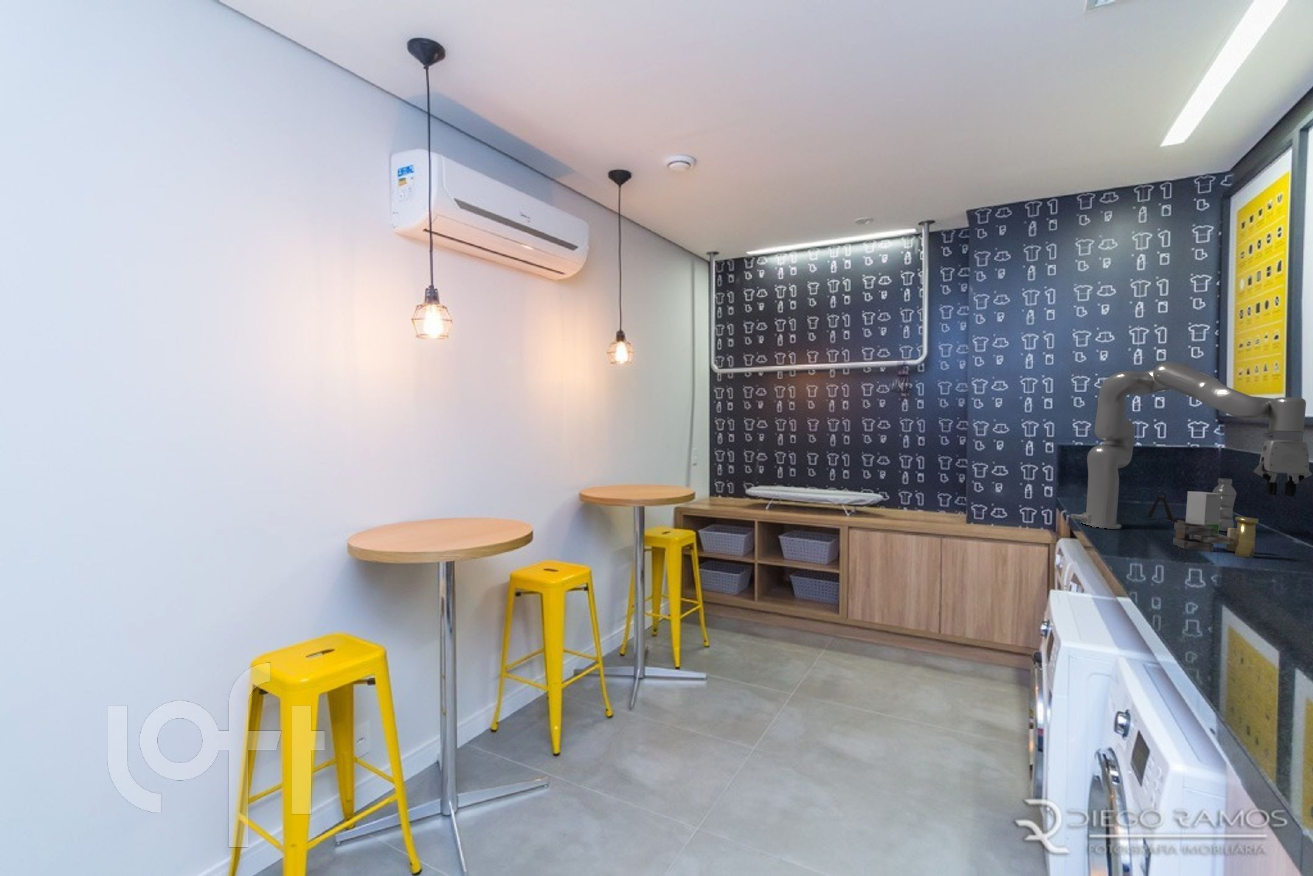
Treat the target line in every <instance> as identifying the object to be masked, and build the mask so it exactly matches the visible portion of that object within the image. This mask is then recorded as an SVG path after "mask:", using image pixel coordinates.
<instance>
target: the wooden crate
mask: <svg viewBox="0 0 1313 876" xmlns="http://www.w3.org/2000/svg"><path fill="white" fill-rule="evenodd" d="M1226 532H1227V533H1226V535H1224V534H1221V533H1219V534H1214V536H1202V535H1191V537H1192V538H1191V539H1196V540H1199V541H1201V542H1205V543H1212V544H1219V545H1226V547H1225V551H1226V550H1227V552H1229V551H1230V552H1235V547H1236V535H1237V527H1236V528H1235V527H1233V528H1228V531H1226ZM1256 534H1257V531H1256V530H1255V538H1254V550H1253V554H1255V548H1256V537H1257V536H1256Z"/></svg>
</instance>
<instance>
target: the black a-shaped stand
mask: <svg viewBox="0 0 1313 876" xmlns="http://www.w3.org/2000/svg"><path fill="white" fill-rule="evenodd" d="M1161 492H1162V494H1164V496H1160V495H1159V494H1160V493H1161ZM1167 494H1168V493H1167V492H1166V491H1165V490H1163V491H1162V490H1158V491H1157V493H1156V498H1155V501H1154V503H1153V504H1152V505H1151V507H1150V509H1149V511H1148V513H1147V515H1146V517H1149V518H1152V517H1154V516H1153V515H1154V513H1155V510H1156V508H1157V506H1158V504H1159V502H1160V501H1163V505H1164V509H1165V514H1166V517H1167V518H1165V517H1160V518H1161V519H1162V518H1163V519H1167V520H1171V521H1174V522H1175V517H1174V515H1173V512H1172V510H1171V508H1170V504H1169V502H1168V500H1167ZM1146 517H1145V518H1146Z"/></svg>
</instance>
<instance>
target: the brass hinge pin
mask: <svg viewBox="0 0 1313 876" xmlns="http://www.w3.org/2000/svg"><path fill="white" fill-rule="evenodd" d="M1235 521H1236V523H1237V524H1236V528H1237V535H1236V547H1235V551H1234V556H1236V557H1238V556H1241V557H1240V558H1244V557H1253V558H1254V553H1253V550H1254V551H1255V549H1254V538H1255V539H1256V537H1255V531H1256V524H1258V523H1259V518H1253V517H1247V516H1236V517H1235Z"/></svg>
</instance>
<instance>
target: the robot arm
mask: <svg viewBox="0 0 1313 876" xmlns="http://www.w3.org/2000/svg"><path fill="white" fill-rule="evenodd" d="M1166 390H1174V391H1176V392H1179V393H1180V394H1183V395H1185V396H1187V397H1191V398H1192V399H1195V400H1197V401H1199V402H1200V403H1203V404H1205V405H1207V406H1210V407H1211V408H1213V409H1215V410H1218V411H1219V412H1222V413H1225V414H1227V415H1230V416H1232V417H1235V418H1237V419H1241V420H1245V421H1246V420H1247V421H1250V420H1251V421H1263V420H1269V422H1268V430H1267V432H1263V433H1262V437H1265V438H1266V439H1267V440H1265V441H1264V443H1263V445H1262V448H1261V452H1260V457H1259V464H1258V465H1257V466H1256V467H1255V469H1254V470H1253V473H1255V474H1256V475H1258V476H1260V477H1261V478H1262V479H1264V481H1265V482H1266V488H1265V489H1266V493H1267V495H1270V496H1276V495H1277V492H1278V491H1277V490H1278V483H1277V482H1276V479H1277V476H1278V474H1287V482H1286V483H1285V485H1284V487H1285V488H1284V495H1285V496H1287V497H1294V496H1295V494H1296V492H1297V491H1296V490H1297V484H1299V482H1301V481H1302V480H1304V479H1306V478H1309V477H1311V476H1312V475H1313V473H1312V472H1311V470H1310V455H1309V454H1310V453H1309V447H1308V443H1307V442H1306V441H1305V442H1304V433H1305V431H1304V430H1305V422H1306V419H1305V418H1306V408H1307V407H1306V406H1307V401H1306V400H1305V398H1302V397H1290V396H1289V397H1288V396H1287V397H1285V396H1284V397H1283V396H1282V397H1274V398H1270V397H1263V396H1252V395H1250V394H1246V393H1244V392H1241V391H1238V390H1237V389H1234V388H1231V387H1229V386H1226V385H1224V384H1223V383H1222V382H1220V380H1219V379H1218V378H1216V377H1214V376H1212V375H1208V374H1207V373H1204V372H1200V371H1198V370H1195V369H1193V368H1192V367H1191V366H1190V365H1188V364H1186V363H1183V362H1175V361H1165V362H1162V363H1160V364H1159V365H1156V366H1155V368H1154V369H1151V370H1147V371H1146V370H1145V371H1136V370H1135V371H1134V370H1127V371H1124V370H1123V371H1121V372H1117V373H1114V374H1112V375H1110V376H1109V377H1108V378H1106V379H1105V380H1104V381H1103V382H1102V384H1101V386H1100V388H1099V393H1098V402H1097V403H1098V404H1097V409H1096V416H1095V417H1096V418H1095V423H1094V435H1095V437H1097V438H1098V439H1099V440H1102V441H1104V443H1103V444H1098V445H1095V446H1093V447H1092V448H1091V449H1090V450H1089V451H1088V453H1087V457H1086V458H1087V459H1086V463H1087V471H1088V473H1087V474H1088V477H1087V493H1086V494H1087V495H1086V512H1083V513H1080V514H1078V513H1071V514H1070V518H1071V519H1072V520H1080V523H1081V522H1082V523H1083V524H1086V525H1090V526H1092V527H1091V528H1096V527H1099V528H1098V529H1104V528H1107V530H1120V529H1122V524H1119V523H1117V517H1118V504H1119V502H1118V501H1119V491H1120V487H1119V485H1120V475H1119V470H1118V469H1121V468H1122V469H1123V468H1124V467H1126V466H1127V465H1129V464H1130V463H1131V460H1132V457H1133V451H1134V443H1135V436H1136V435H1135V434H1136V428H1135V424H1134V423H1133V421H1131V420H1130V418H1127V417H1126V416H1125V414H1126V408H1127V403H1126V396H1127V395H1135V396H1139V395H1140V396H1143V395H1150V394H1152V393H1153V394H1154V393H1157V392H1162V391H1166ZM1090 526H1089V527H1090Z"/></svg>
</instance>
